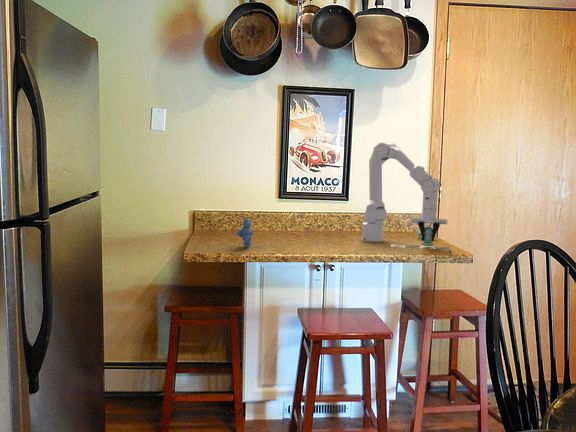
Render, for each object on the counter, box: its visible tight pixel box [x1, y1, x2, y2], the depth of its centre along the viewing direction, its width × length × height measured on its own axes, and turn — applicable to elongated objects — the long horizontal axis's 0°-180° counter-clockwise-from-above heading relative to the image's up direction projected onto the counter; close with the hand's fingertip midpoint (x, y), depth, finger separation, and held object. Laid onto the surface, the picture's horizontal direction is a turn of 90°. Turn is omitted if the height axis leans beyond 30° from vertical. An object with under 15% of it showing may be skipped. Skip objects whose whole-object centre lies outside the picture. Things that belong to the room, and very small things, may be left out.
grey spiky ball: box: [413, 223, 433, 240], centre depth 242 cm, size 9×8×10 cm
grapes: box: [236, 217, 254, 249], centre depth 218 cm, size 12×7×12 cm, turn 6°
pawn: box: [421, 226, 434, 247], centre depth 220 cm, size 5×5×8 cm
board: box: [390, 244, 452, 254], centre depth 221 cm, size 24×10×1 cm, turn 79°
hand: (427, 240), depth 220 cm, fingers closed on pawn, 3 cm apart
